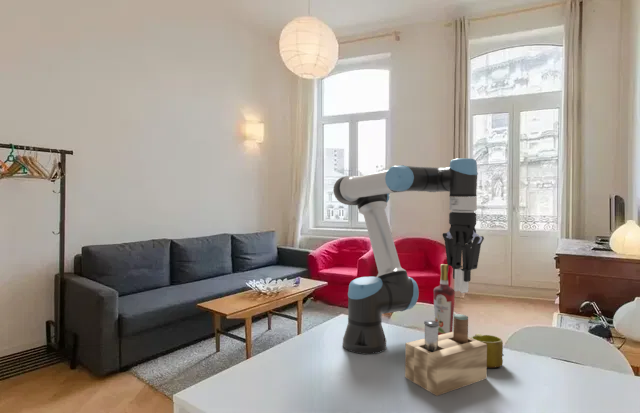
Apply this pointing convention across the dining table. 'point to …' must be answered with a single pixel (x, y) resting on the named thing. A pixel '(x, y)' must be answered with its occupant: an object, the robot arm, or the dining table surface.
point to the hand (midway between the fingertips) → (461, 291)
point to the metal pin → (431, 335)
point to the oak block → (446, 364)
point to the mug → (492, 349)
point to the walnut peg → (460, 329)
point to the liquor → (444, 303)
